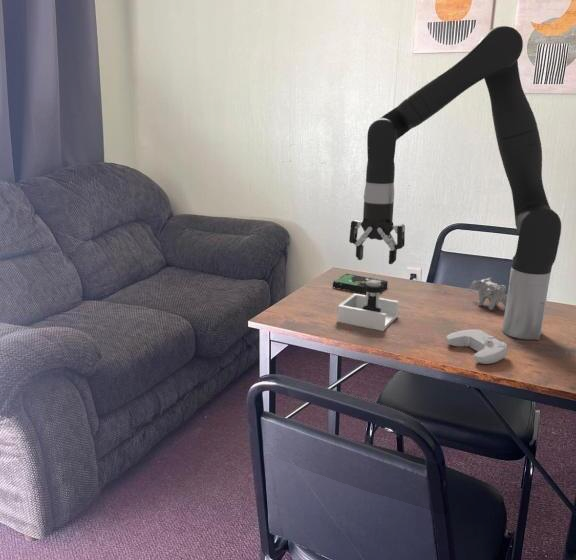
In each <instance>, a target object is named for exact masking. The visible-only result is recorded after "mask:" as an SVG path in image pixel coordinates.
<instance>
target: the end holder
mask: <svg viewBox="0 0 576 560" xmlns="http://www.w3.org/2000/svg"><path fill="white" fill-rule="evenodd" d="M365 303H366V294H362V293H356V292H354V293H353V294H352V295H350V296H349V297H348V298H346V299H345V300H344V301H342V302H341V303H340V304H338V305H337V316H336V317H337V318H336V321H337V323H342V324H347V325H352V326H357V327H361V328H367V329H372V330H377V331H382V332H384V331H385V330H386V329H387V328H388V327H389V326H390V325H391V324H392V323H393V322H394V321H395V320H396V318H398V314H399V313H398V312H399V300H393V299H388V298H383V297H379V306H380V307H379V308H381V313H380V312H375V311H370V310H364V309H362V307H364V306H365ZM359 308H360V309H359Z"/></svg>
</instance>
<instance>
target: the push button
mask: <svg viewBox="0 0 576 560" xmlns="http://www.w3.org/2000/svg"><path fill="white" fill-rule="evenodd" d="M375 279H376V278H373V279H370V280H367V282H366V283H364V284H363V286H364V290H365V291H366V294H365V295H366V303H365V306H364V307H362V309H364V310H370V311H375V312H380V313H381V308H379V307H380V306H379V298H381V297H380V296H381V293H382V292H383V291H382V289H383V287H384V285H383V284H381V282H380V281H379V280H380V279H379V280H375ZM369 293H370V295H369ZM376 294H377V295H376ZM359 309H360V308H359Z"/></svg>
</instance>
